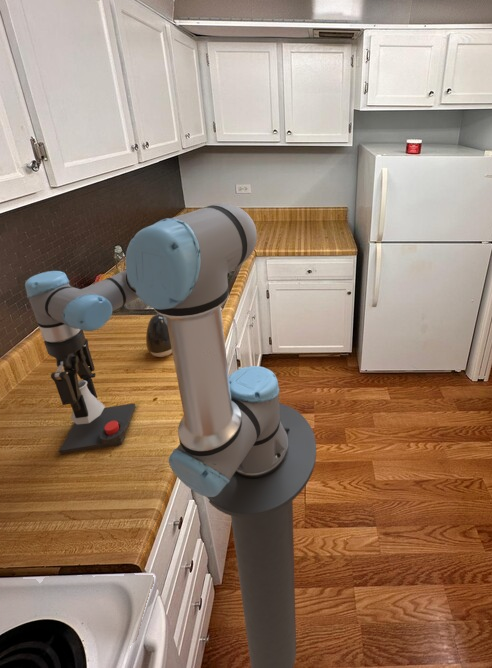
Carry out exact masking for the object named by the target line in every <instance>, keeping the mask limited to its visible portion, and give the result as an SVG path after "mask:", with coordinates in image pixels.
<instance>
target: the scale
mask: <svg viewBox="0 0 492 668" xmlns="http://www.w3.org/2000/svg"><path fill="white" fill-rule="evenodd" d="M135 410H136V403H135V402H134V403H127V404H121V405H113V406H105V408H104V409H103V411H102V413H101V415H100V416H98V417H97V418H96V419H94V420H93V421H91V422H90V423H86V424H76V423H74V422H73V424H72V426H71V428H70V429H69V431H68V434H67V435H66V437H65V439H64V440H63V442H62V444H61V446H60V448H59V450H58V452H59V455H66V454H72V453H79V452H84V451H90V450H96V449H97V450H98V449H103V448H109V447H113V446H114V447H115V446H120V445H123V443H124V440H125V438H126V435H127V432H128V430H129V427H130V424H131V421H132V418H133V417H134V413H135ZM111 421H117V422H118V425H119V430H118V431H117V432H116V433H115V434H113V435H107V434H106V432H105V429H104V428H105V426H106V424H107V423H109V422H111Z"/></svg>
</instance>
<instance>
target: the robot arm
mask: <svg viewBox="0 0 492 668" xmlns="http://www.w3.org/2000/svg"><path fill="white" fill-rule="evenodd" d="M257 240H258V232H257V228H256V225H255V222H254V220H253V219H252V217H251V215H249V214H248V213H247V212H246V211H245V210H244V209H243V208H240V207H239V206H237V205H234V204H229V203H213V204H210V205H207V206H204V207H201V208H199V209H195V210H192V211H189V212H186V213H183V214H180V215H177V216H173V217H171V218H168V217H167V218H163V219H161V220H159V221H157V222H155V223H153V224H151V225H149V226H146V227H144V228H142V229H140V230H139V231H138V232H136V233H135V235H134V237H133V238H132V239H130V241H129V243H128V246H127V249H126V251H125V259H124V260H125V261H124V262H125V264H124V265H125V270H123V271H120V272H118V273H116V274H114V275H112V276H110V277H106V278H104V279H101V280H99V281H97V282H95V283H92V284H90V285H87V286H85V287H84V288H77V287H74V286H71V285H70V280H69V278H68V275H67V274H66V273H65V272H64V271H61V270H49V271H43V272H41V273H38V274H34V275H33V276H30V277H29V278H27V280H26V281H25V283H24V287H25V292H26V295H27V296H26V298H27V299H28V301H29V304H30V307H31V309H32V312H33V314H34V317H35V320H36V323H37V325H38V328H39V330H40V334H41V337H42V340H43V343H44V346H45V349H46V352H47V354H48V355H49V356H51V357H53V358H55V360H56V361H55V362H56V367H57V369H56V372H52V373H51V374H50V378H51V379H52V381H53V382H54V384H55V387H56V390H57V392H58V397H59V398H60V401H61V404H62V406H65V405H70V406H71V409H72V412H74V415H75V418H81V417H88V410H87V407H86V404H85V401H84V398H83V395H80V391H79V384H78V381H79V379H80V380H85V381H87V382H88V383H87V387H88V389H89V391H90V392H91V394H92V395H93V396H94V397H95V398H97V399H98V396H97V395H98V394H97V391H96V389H95V385H94V382H93V379H94V378H96V373H95V370H96V368H95V364H94V361H93V357H92V354H91V351H90V348H89V347H90V346H89V339H88V338H86V336H85V333H84V331H85V332H94V331H97V330H100V329H101V328H103V327H104V326H105V325H106V323H107V322H108V321H109V320H110V319H111V317H112V315H113V312H114V311H117V310H119V309H120V308H122V307H124V306H125V305H127V304H129V303H131V302H133V301H135V300H137V299H139V300H140V301H141V302H143V303H144V305H146V306H148V307H150V308H153V310H154V312H155V313H157V314H160V315H162V316H165V317H166V321H167V326H168V331H169V337H170V342H171V348H172V353H171V354H172V358H173V365H174V369H175V374H176V380H177V385H178V390H179V394H180V395H179V397H180V401H181V406H182V407H181V408H182V412H183V416H182V417H181V419H180V421H179V423H178V428H177V435H178V440H179V444H178V445H177V447H176V448H174V449H172V452H171V454H170V455H169V457H168V464H169V467H170V469H171V471H172V473H173V474H174V475H175V476H176V477H177V478H178V480H180V482H181V483H183V484H184V485H185V486H186V487H187V488H188V489H190V490H191V491H193V492H194V493H196V494H198V495H200V496H203V497H205V498H207V497H214V496H217V495H218V494H219V493H220V492H221V491H222V489H223V488H224V487H225V485H226V484H227V483H229V481H230V479H231V477H232V476H233V474H234V473H236V474H237V475H239V476H241V477H243V478H247V479H259V478H263V477H266V476H268V475H270V474H272V473H273V472H274V471H276V470H277V469H278V468H279V467H280V466H281V464H282V463H283V461H284V460H285V458H286V455H287V451H288V438H287V434H286V431H289V430H290V429H289V428H283V426H282V424H281V422H280V414H279V403H280V387H279V381H278V378H277V376H276V374H275V373H274V372H273V371H272V370H271V369H269V368H266V367H264V366H260V365H251V366H244V367H241V368H238V369H236V370H235V371H233V372H232V373H231V374H230V375H229V366H228V358H227V357H228V356H227V350H226V349H227V348H226V339H225V330H224V323H223V314H222V306H223V305H224V304H225V303H226V301H228V298H229V296H230V290H229V280H228V279H229V278H228V274H229V273H230V272H232V271H233V270H235V269H236V268H238V267H239V266H241V265H242V264H244V263H245V262H246V261H247V260H248V259H249V258H250V257H251V255H252V254H253V252H254V251H255V249H256V246H257V242H258V241H257Z"/></svg>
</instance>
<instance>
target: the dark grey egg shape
mask: <svg viewBox="0 0 492 668" xmlns="http://www.w3.org/2000/svg"><path fill="white" fill-rule="evenodd" d="M145 334H146V335H145V342H146V343H145V345H146V349H147V351H148V352H149V353H150V354H151V356H154V357H157V358H164V357H167V356H169V355H171V354H173V353H172V348H171V342H170V337H169V331H168V326H167V321H166V317H165V316H162V315H160V314H158V313H157V314H154V315H153V316H152V317H151V318H150V319H149V322H148V324H147V327H146V333H145Z"/></svg>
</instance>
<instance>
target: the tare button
mask: <svg viewBox="0 0 492 668" xmlns="http://www.w3.org/2000/svg"><path fill="white" fill-rule="evenodd" d="M104 429H105V432H106V434H107V435H113V434H115V433H116V432H117V431H118V430H119V425H118V422H117V421H111V422H109V423H107V424H106V426H105V428H104Z"/></svg>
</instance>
